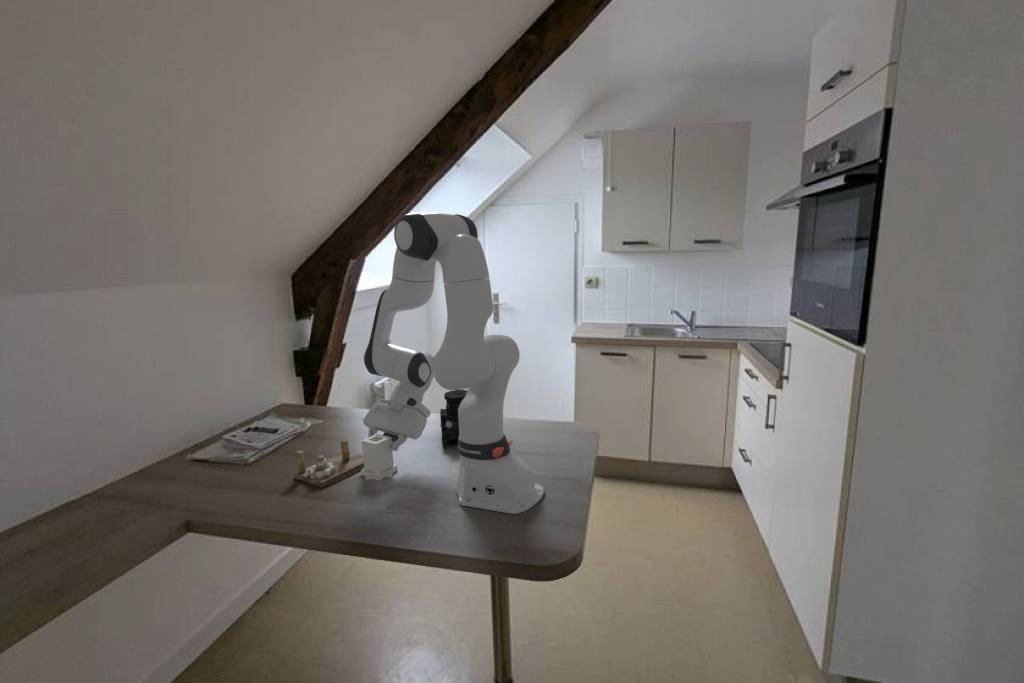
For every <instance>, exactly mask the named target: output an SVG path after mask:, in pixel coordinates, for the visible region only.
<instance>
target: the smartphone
mask: <svg viewBox="0 0 1024 683" xmlns="http://www.w3.org/2000/svg"><path fill="white" fill-rule="evenodd" d="M382 435H384V436H388V437H391V439H392V442H395V441H396V440H397V439H398V438H399V437H398V435H394V434H390V433H386V432H383V434H382Z"/></svg>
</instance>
